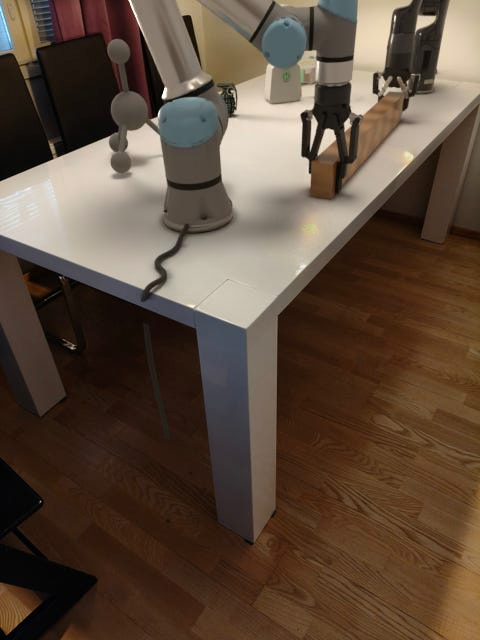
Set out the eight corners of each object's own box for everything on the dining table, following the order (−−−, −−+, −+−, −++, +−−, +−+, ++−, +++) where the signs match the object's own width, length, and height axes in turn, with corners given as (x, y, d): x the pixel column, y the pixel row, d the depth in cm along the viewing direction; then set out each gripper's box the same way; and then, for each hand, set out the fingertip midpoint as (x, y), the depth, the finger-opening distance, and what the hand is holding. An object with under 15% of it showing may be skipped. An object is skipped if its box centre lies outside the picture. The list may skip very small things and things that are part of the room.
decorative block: (301, 54, 217) (342, 57, 208) (301, 70, 221) (341, 73, 212) (270, 65, 201) (313, 69, 192) (270, 82, 205) (312, 86, 196)
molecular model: (195, 164, 133) (181, 39, 115) (114, 179, 127) (87, 50, 109) (172, 140, 150) (157, 28, 132) (101, 152, 145) (75, 37, 126)
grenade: (217, 117, 168) (214, 86, 162) (221, 112, 172) (219, 82, 166) (235, 117, 166) (233, 86, 160) (239, 113, 171) (238, 82, 165)
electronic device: (270, 104, 178) (269, 7, 160) (263, 99, 184) (262, 5, 165) (301, 100, 180) (304, 4, 162) (294, 95, 186) (296, 2, 168)
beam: (330, 199, 112) (332, 164, 107) (310, 196, 114) (311, 161, 109) (401, 119, 156) (405, 92, 151) (385, 118, 158) (389, 91, 153)
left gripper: (381, 80, 100) (368, 188, 114) (299, 75, 107) (297, 178, 121) (371, 89, 95) (358, 201, 109) (285, 83, 102) (284, 189, 116)
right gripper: (428, 48, 142) (418, 108, 152) (379, 46, 148) (372, 104, 158) (422, 53, 137) (412, 115, 147) (372, 51, 142) (365, 110, 153)
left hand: (326, 188), depth 115 cm, fingers closed on beam, 5 cm apart
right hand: (392, 109), depth 152 cm, fingers open, 6 cm apart
